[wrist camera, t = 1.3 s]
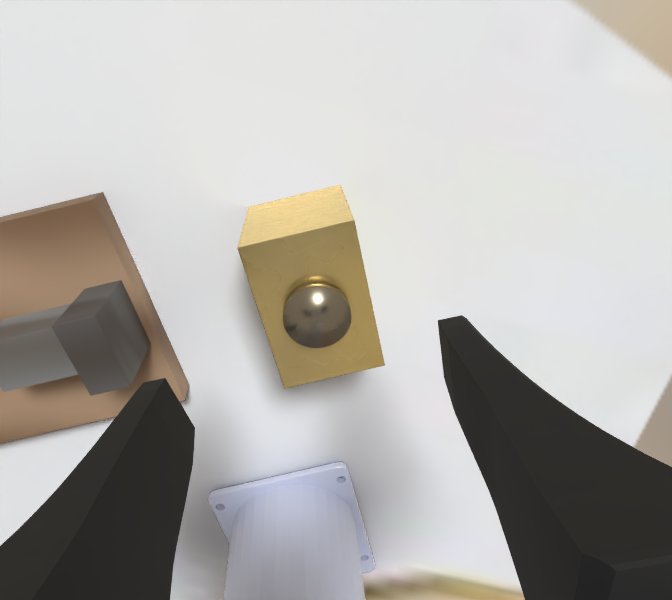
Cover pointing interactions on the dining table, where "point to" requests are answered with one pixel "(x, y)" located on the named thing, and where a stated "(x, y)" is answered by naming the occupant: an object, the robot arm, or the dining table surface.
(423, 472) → the dining table surface
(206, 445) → the dining table surface
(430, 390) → the dining table surface
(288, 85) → the dining table surface
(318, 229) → the block
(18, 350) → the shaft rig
